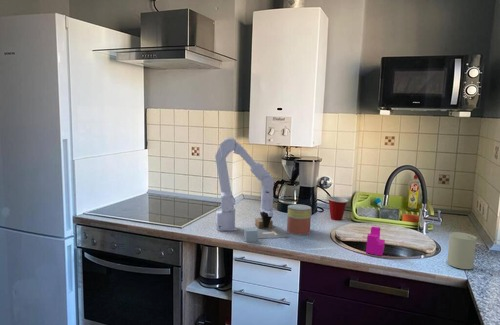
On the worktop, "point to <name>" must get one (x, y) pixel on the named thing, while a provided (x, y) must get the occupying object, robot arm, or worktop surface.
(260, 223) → the walnut slab
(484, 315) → the worktop surface
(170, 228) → the worktop surface
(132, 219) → the worktop surface
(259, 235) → the light gray board
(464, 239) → the can
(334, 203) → the plastic cup
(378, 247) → the toy block
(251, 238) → the grey cube
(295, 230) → the canned food
